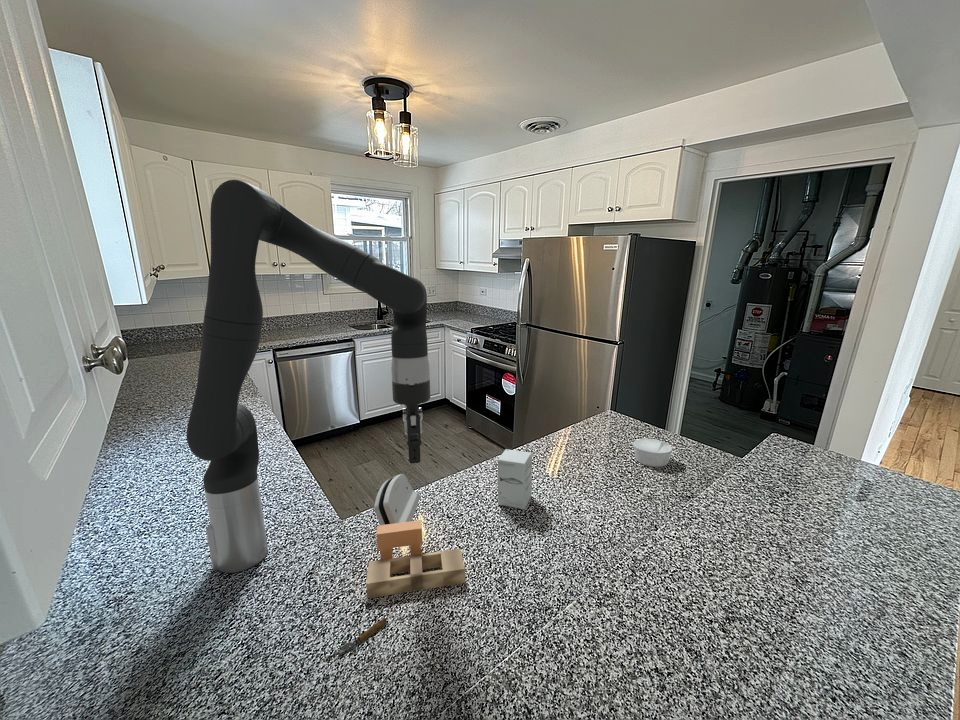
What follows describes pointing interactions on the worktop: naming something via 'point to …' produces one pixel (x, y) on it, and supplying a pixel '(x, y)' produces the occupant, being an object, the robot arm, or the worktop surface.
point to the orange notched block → (399, 537)
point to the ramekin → (652, 452)
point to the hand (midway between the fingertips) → (414, 453)
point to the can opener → (362, 637)
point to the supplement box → (514, 478)
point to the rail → (415, 573)
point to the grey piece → (396, 501)
